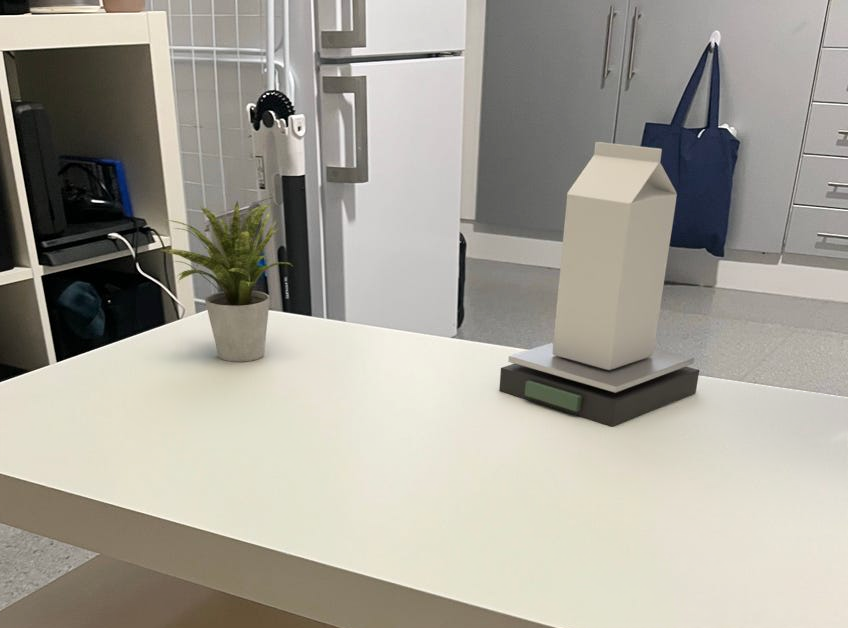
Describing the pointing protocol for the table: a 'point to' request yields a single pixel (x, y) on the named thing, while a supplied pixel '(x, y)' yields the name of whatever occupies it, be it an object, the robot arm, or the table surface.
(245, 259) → the house plant
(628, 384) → the scale platform
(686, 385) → the scale
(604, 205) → the milk carton
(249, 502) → the table surface
